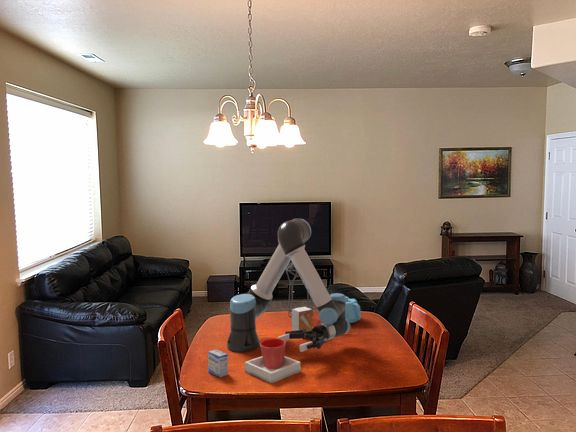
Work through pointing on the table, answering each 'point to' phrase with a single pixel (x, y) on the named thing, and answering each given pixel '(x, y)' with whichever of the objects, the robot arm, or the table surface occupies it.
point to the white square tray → (272, 375)
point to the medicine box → (218, 363)
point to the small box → (302, 319)
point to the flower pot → (273, 352)
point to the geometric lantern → (292, 287)
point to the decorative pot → (352, 310)
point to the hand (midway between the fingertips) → (288, 344)
